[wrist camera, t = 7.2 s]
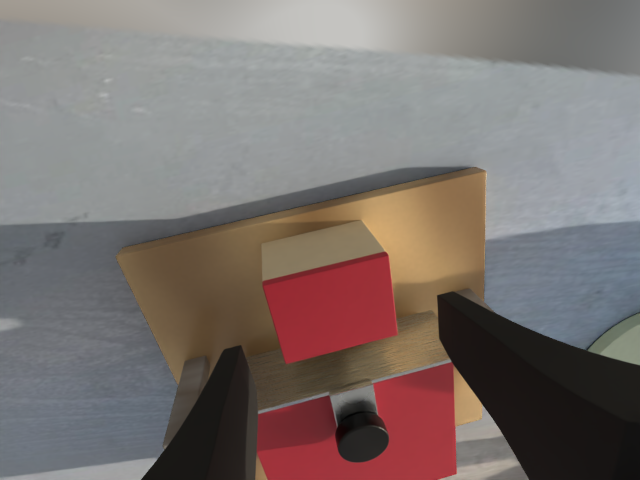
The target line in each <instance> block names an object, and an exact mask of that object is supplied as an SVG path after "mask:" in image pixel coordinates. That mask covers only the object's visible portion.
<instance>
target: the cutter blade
mask: <svg viewBox="0 0 640 480" xmlns="http://www.w3.org/2000/svg"><path fill="white" fill-rule="evenodd" d="M396 323H397V331H398V335H396V336H392V337H388V338H384V339H380V340H377V341H373V342H369V343H365V344H361V345H357V346H354V347H350V348H346V349H342V350H338V351H334V352H331V353H327V354H323V355H319V356H315V357H311V358H308V359H304V360H300V361H296V362H292V363H288V364H286V363H285V361H284V357H283V354H282V351H281V349H278V350H274V351H270V352H266V353H262V354H258V355H254V356H250V357H247V358H246V360H247V362H248V365H249V368H250V371H251V374H252V376H253V379H254V382H255V385H256V390H257V403H258V414H261V413H265V412H268V411H272V410H276V409H280V408H283V407H287V406H291V405H294V404H298V403H302V402H306V401H309V400H313V399H317V398H320V397H324V396H328V395H329V396H330V400H331V404H332V409H333V413H334V417H335V421H336V425H337V429H336V432H335V440H336V444H337V449H338V452H339V454H340V456H341V457H342V458H343V459H344V460H346V461H348V462H353V463H362V462H367V461H370V460H373V459H375V458H376V457H378V456H379V455H381V454H382V453H383V452H384V451H385V450H386V448H387V446H388V444H389V434H388V431H387V429H386V426H385V423H384V421H383V420H382V419H381V418H380V417H379V416H378V410H377V404H376V398H375V391H374V385H373V383H376V382H380V381H383V380H387V379H391V378H395V377H398V376H402V375H406V374H409V373H413V372H417V371H421V370H424V369H428V368H432V367H435V366H439V365H443V364H447V363H450V362H451V360H450V358H449V356H448V355H447V353H446V351H445V349H444V347H443V345H442V343H441V342H440V340H439V328H438V317H437V316H436V315H435V314H434V312H433V311H432V310H429V311H425V312H421V313H417V314H414V315H410V316H406V317H402V318H398V319H396Z"/></svg>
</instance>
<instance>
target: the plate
mask: <svg viewBox="0 0 640 480" xmlns="http://www.w3.org/2000/svg"><path fill="white" fill-rule="evenodd" d="M587 351H590V352H593V353H596V354H600V355H603V356H606V357H610V358H613V359H617V360H621V361H625V362H629V363H633V364H637V365H640V313H638V314H636V315H633V316H631V317H629V318H627V319H625V320H624V321H622V322H620V323H619V324H617V325H616V326H614V327H612V328H611V329H610V330H608V331H607V332H606V333H604V334H603V335H602V336H601V337H600V338H599V339H598V340H597V341H595V343H594V344H593V345H592V346H591V347H590V348H589V349H588V350H587Z"/></svg>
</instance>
